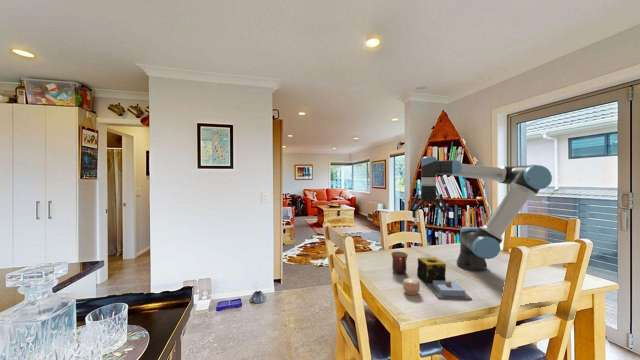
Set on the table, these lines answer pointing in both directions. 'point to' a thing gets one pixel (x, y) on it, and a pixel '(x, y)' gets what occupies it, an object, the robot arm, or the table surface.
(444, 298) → the mat
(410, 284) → the bowl
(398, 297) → the table surface
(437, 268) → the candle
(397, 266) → the mug
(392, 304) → the table surface
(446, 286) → the lid
